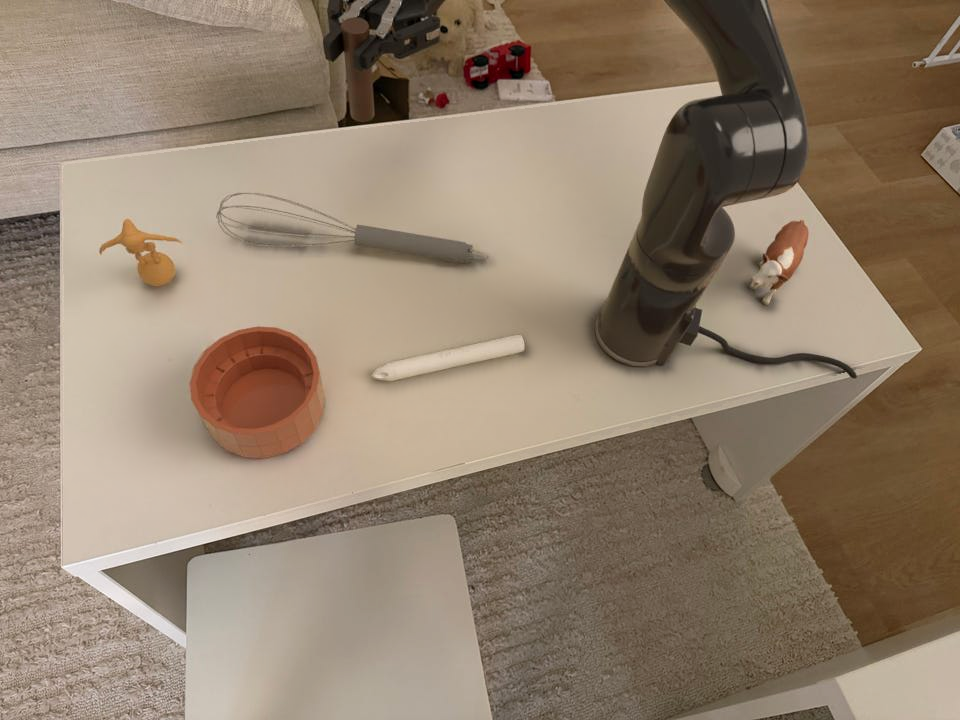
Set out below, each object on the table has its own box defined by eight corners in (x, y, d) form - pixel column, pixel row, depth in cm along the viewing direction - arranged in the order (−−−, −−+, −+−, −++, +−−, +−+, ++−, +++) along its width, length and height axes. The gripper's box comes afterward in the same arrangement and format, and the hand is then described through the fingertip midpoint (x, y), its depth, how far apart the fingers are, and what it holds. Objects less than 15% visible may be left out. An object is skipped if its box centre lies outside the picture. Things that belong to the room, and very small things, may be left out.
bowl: (344, 379, 75) (339, 348, 69) (292, 477, 68) (282, 451, 63) (243, 345, 76) (231, 311, 70) (183, 437, 69) (164, 408, 64)
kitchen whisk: (486, 281, 84) (491, 247, 79) (217, 250, 83) (203, 214, 77) (489, 244, 87) (494, 210, 82) (230, 215, 86) (218, 178, 81)
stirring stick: (370, 104, 78) (364, 15, 69) (377, 119, 77) (372, 31, 68) (347, 108, 78) (338, 19, 68) (354, 124, 76) (345, 35, 67)
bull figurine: (727, 305, 86) (755, 264, 79) (768, 246, 92) (797, 204, 85) (757, 323, 85) (788, 284, 78) (797, 262, 91) (829, 221, 84)
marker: (373, 388, 74) (372, 378, 72) (369, 373, 75) (368, 362, 73) (523, 354, 79) (526, 344, 77) (517, 340, 80) (520, 329, 78)
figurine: (196, 261, 81) (167, 189, 71) (200, 300, 78) (169, 230, 68) (124, 272, 80) (82, 199, 69) (124, 312, 77) (81, 242, 66)
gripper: (363, -75, 74) (276, 1, 66) (476, -37, 72) (402, 47, 64) (367, -9, 81) (288, 68, 72) (471, 27, 79) (403, 112, 70)
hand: (342, 58), depth 68 cm, fingers closed on stirring stick, 3 cm apart
